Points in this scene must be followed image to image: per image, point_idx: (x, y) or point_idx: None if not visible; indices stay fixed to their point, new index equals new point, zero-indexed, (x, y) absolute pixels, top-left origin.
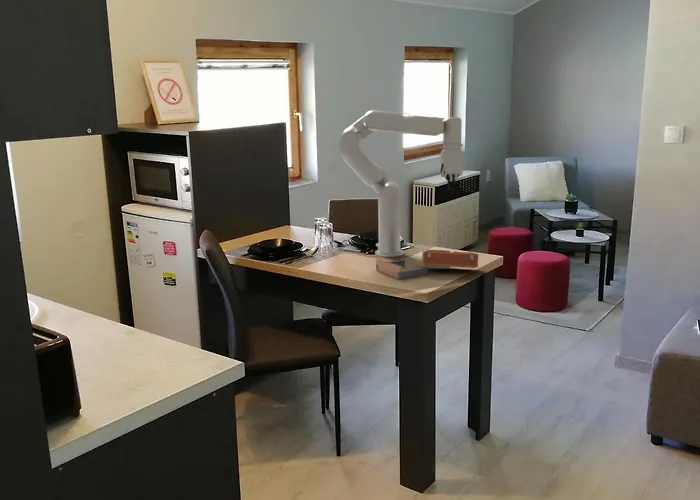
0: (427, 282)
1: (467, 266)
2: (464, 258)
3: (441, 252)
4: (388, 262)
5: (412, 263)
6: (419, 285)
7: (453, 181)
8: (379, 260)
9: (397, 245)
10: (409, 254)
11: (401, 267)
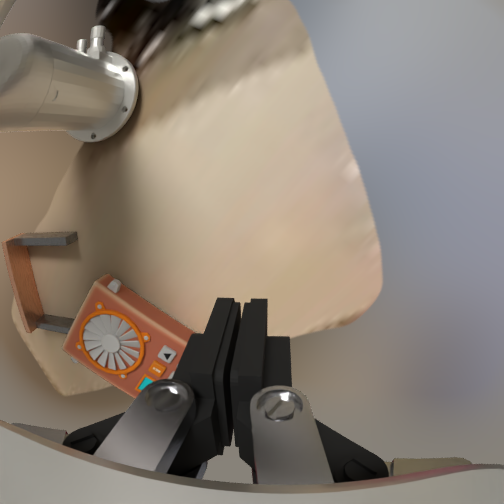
0: (79, 363)
1: None
2: None
3: (100, 376)
4: (14, 287)
5: (110, 214)
6: (63, 365)
7: (235, 444)
8: (5, 256)
9: (85, 127)
10: (164, 101)
11: (30, 332)
